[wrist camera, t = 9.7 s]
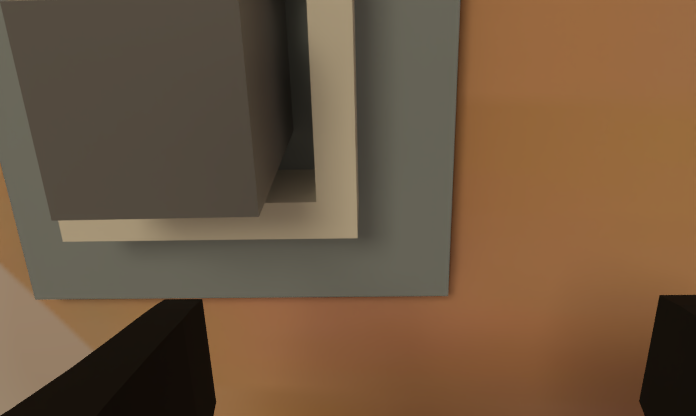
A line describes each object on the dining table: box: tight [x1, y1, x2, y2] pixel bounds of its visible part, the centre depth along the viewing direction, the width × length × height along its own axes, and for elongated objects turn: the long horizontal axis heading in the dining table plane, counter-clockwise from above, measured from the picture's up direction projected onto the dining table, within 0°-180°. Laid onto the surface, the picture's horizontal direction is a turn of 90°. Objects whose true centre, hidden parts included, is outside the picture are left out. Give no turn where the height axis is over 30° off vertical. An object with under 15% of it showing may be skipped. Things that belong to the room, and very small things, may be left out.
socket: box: [0, 0, 460, 299], centre depth 16 cm, size 13×14×4 cm
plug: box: [0, 0, 293, 221], centre depth 14 cm, size 4×4×6 cm
